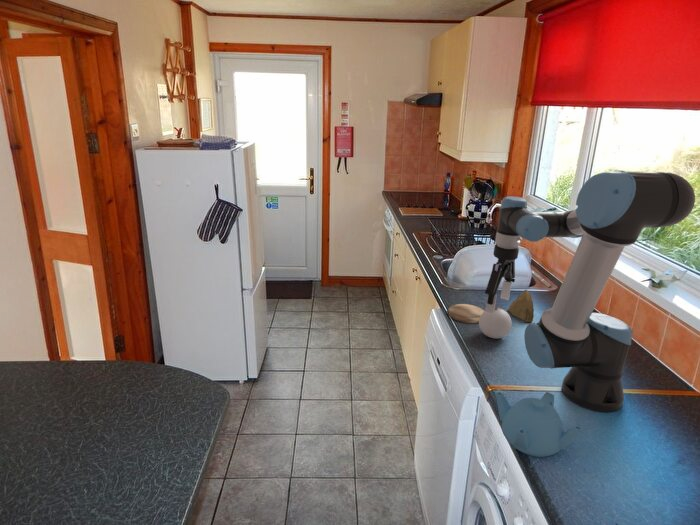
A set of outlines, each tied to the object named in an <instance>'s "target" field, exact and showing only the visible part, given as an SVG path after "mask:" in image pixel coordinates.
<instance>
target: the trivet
mask: <svg viewBox="0 0 700 525" xmlns="http://www.w3.org/2000/svg"><path fill="white" fill-rule="evenodd" d="M484 311H485V310H484V309H483V308H481V307H479V306H477V305H473V304H468V303H458V304H457V303H456V304H453V305H451V306H449V307H448V312H447V313H448V316H450V318H452V319H454V320H456V321H458V322H460V323H467V324H479V319H480V316H481V314H482V313H483V312H484Z"/></svg>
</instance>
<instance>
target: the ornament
mask: <svg viewBox="0 0 700 525" xmlns="http://www.w3.org/2000/svg"><path fill="white" fill-rule="evenodd" d="M512 324H513V323H512V319H511V316H510V314H509V313H508V312H507V310H505V309H503V308H500V307H498V303H495V310H494V313H493V314H492V313H489V312H486V311H485V310H484V312H483V313H482V314H481V316H480V319H479V323H478V326H479V329H480V331H481V332H482V333H483V335H485V336H486V337H489V338H492V339H502V338H504V337H506V335H508V334H509V333H510V331H511V329H512Z"/></svg>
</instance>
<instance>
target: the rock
mask: <svg viewBox="0 0 700 525" xmlns="http://www.w3.org/2000/svg"><path fill="white" fill-rule="evenodd" d="M507 311H508V312H509V313H510V314H511V315H512V316H514V317H516V318H518V319H519V320H522V321H524V322H526V323H533V321H534V316H535V315H534V311H535V309H534V301H533V298H532V294H531V292H530V290H527V289H525V290H523V291H522V292H520V294H519V295H518V296H517V297H516V298H515V300H513V301H512V302H511V304H510V305H509V307H508V309H507Z"/></svg>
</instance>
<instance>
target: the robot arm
mask: <svg viewBox="0 0 700 525" xmlns="http://www.w3.org/2000/svg"><path fill="white" fill-rule="evenodd" d="M695 203H696V194H695V190H694V189H693V186H692V185H691V183H690V182H689V181H688V180H687V179H685V178H684V177H683V176H680V175H679V174H676V173H673V172H669V171H626V170H613V171H603V172H599V173H596V174H594V175H592V176H591V177H589V178H588V179H587V180H586V181H585V182H584V184H583V185H582V186H581V188H580V190H579V192H578V194H577V198H576V202H575V205H576V206H577V207H576V208H575V209H573V210H569V211H556V212H555V211H531V210H528V209H527V208H528V201H527V199H526V198H524V197H520V196H505V197H503V198H502V200H501V205H500V208H499V213H498V214H499V215H498V220H497V222H498V223H497V228H496V229H497V230H496V233H495V240H494V243H495V244H494V248H493V256H494V257H495V258H496V259H497V261H496V263H492V264H493V265H492V269H491V273H490V277H489V279H488V282H487V285H486V289H485V290H484V293H485V294H487V298H486V302H485V310H484V311H486V312H489V313H492V314H493V313H494V310H495V303H496V302H497V297H498V294H497V292H498V290H499V288H500V285H501V282H502V280H503V282H502V287H501V292H500V296H499V297H500V299H501V300H502V299H503V300H506V301H509V299H510V294H511V289H512V283H515V281H516V279H515V278H516V268H515V267H516V263H515V260H517V259H518V258H519V250H520V248H519V246H520V244H521V242H522V241H523V239H524V240H526V241H529V242H533V243H537V242H538V241H541V240H543V239H545V238H547V239H548V238H572V239H575V238H580V240H579V243H578V246H577V248H576V250H575V251H574V252H575V253H574V255H573V258H572V259H571V262H570V264H569V266H568V269H567V272H566V274H565V275H564V279H563V280H562V283H561V285H560V288H559V289H558V290H559V291H558V293H557V296H556V298H555V300H554V302H553V304H552V307H551V308H548V309H546V310H544V311H543V312H542V314H541V316H540V319H539V320H538V322H535V321H534V322H530V323H528V324H527V325H526V327H525V330H524V345H525V350H526V352H527V355H528V357H529V359H530V361H531V362H532V363H533V365H535V366H536V367H537V368H541V369H550V370H551V369H558V368H559V369H560V368H561V369H562V368H570V369H569V370H568V372H567V374H566V375H565V376H564V377H563V380H562V384H561V390H562V393H563V394H564V396H565V397H566V398H567V399H569V400H570V401H571V402H573V403H574V404H576V405H578V406H579V407H582V408H585V409H588V410H591V411H595V412H600V413H601V412H602V413H611V412H612V413H613V412H617V411H619V410H621V409H622V406H623V403H624V400H625V395H624V387H623V382H622V381H623V380H622V377H623V374H624V369H625V366H626V363H627V358H628V355H629V353H630V352H629V351H630V348H631V345H632V339H633V329H632V328H631V326H629V325H628V324H627V323H626V322H624V321H622V320H621V319H618V318H617V317H613V316H611V315H608V314H604V313H600V312H594V310H595V308H596V306H597V304H598V302H599V299H600V298H601V295H602V293H603V292H604V289H605V288H606V285H607V284H608V281H609V280H610V277H611V275H612V274H613V270H614V269H615V267H616V265H617V263H618V262H619V259H620V256H621V255H622V253H623V250H624V248H626V247H627V246H631V245H634V244H635V243H636V242H637V241H638V238H639V237H640V235H641V232H642V230H643V229H647V228H649V229H650V228H667V227H671V226H674V225H677V224H679V223H681V222H682V221H684V220H685V219H686V218H687V217H688V216H689V215H690V214H691V213H692V211H693V209H694V206H695ZM503 278H504V279H503ZM496 304H497V303H496Z"/></svg>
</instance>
